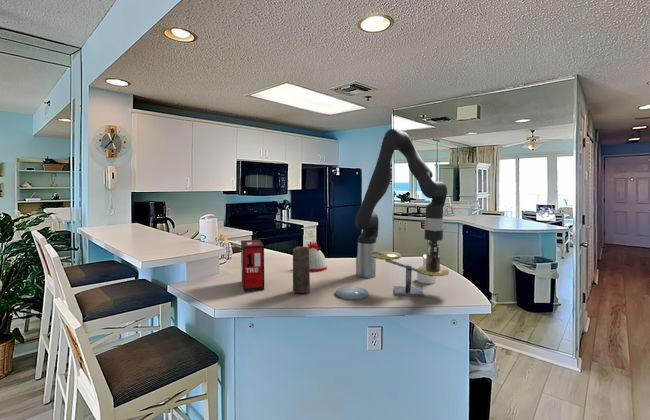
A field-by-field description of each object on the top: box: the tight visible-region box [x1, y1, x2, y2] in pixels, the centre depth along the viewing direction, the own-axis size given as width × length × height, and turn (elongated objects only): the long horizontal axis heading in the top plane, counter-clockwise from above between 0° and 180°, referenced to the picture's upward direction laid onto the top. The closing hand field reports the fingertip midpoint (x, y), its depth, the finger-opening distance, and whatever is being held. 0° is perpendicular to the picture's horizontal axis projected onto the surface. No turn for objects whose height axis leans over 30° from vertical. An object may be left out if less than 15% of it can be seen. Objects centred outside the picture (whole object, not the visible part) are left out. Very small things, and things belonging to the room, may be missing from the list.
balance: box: [371, 250, 450, 298], centre depth 152 cm, size 33×13×16 cm, turn 80°
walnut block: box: [425, 254, 441, 272], centre depth 150 cm, size 5×5×6 cm
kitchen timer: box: [307, 241, 328, 273], centre depth 193 cm, size 14×14×15 cm
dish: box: [335, 286, 369, 301], centre depth 150 cm, size 14×14×1 cm
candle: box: [292, 246, 311, 294], centre depth 152 cm, size 8×7×20 cm
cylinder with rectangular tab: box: [416, 254, 437, 284], centre depth 170 cm, size 9×9×12 cm
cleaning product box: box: [240, 239, 265, 293], centre depth 161 cm, size 16×9×20 cm, turn 17°
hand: (432, 267), depth 150 cm, fingers closed on walnut block, 5 cm apart
